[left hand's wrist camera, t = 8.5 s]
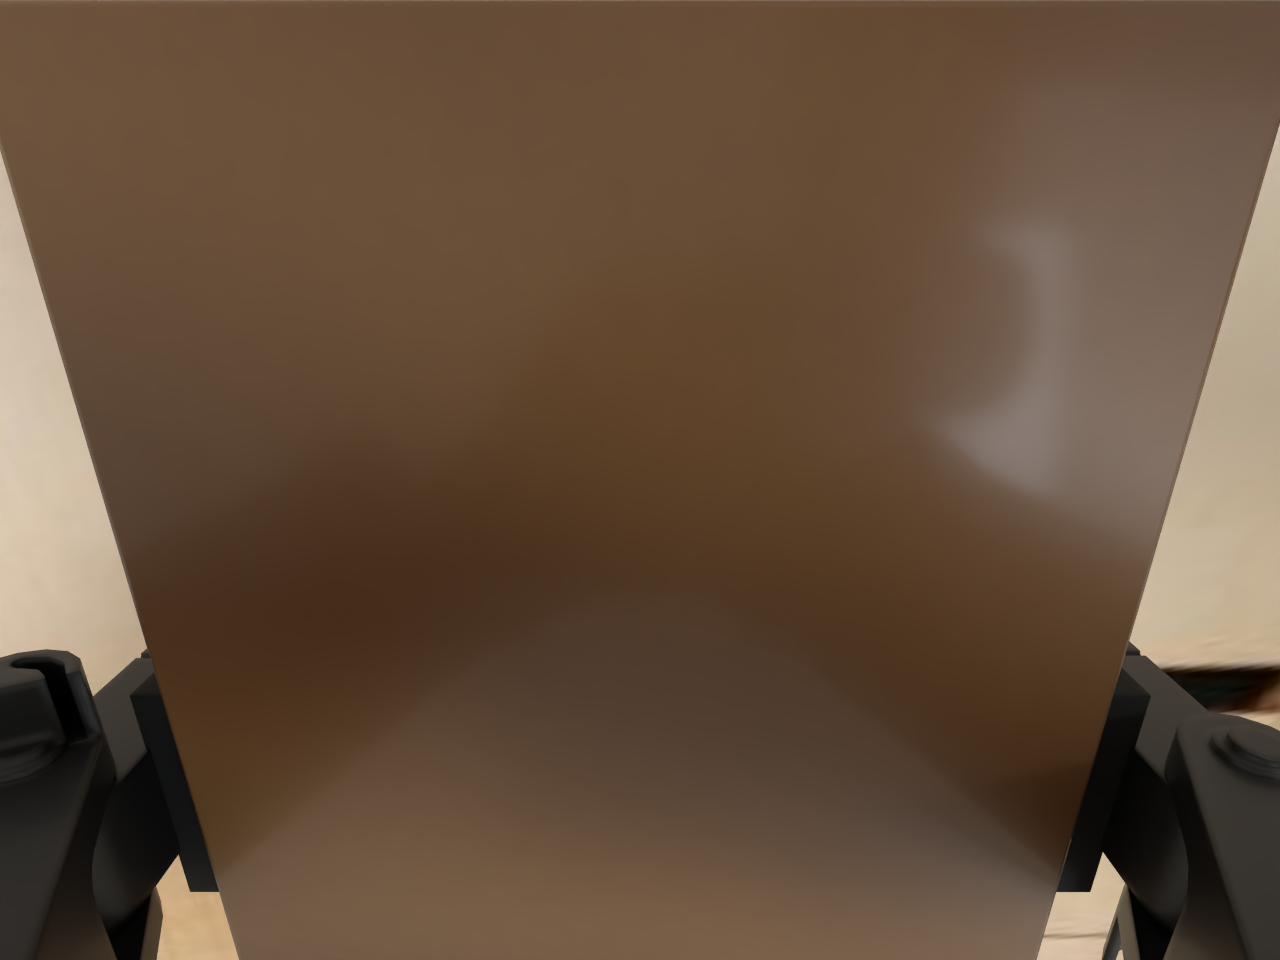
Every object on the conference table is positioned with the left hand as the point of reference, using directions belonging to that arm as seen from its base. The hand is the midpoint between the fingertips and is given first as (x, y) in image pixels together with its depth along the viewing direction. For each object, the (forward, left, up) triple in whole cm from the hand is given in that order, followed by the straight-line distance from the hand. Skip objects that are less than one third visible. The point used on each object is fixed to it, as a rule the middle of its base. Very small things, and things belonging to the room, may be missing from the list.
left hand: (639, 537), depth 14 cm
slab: (+21, +15, -1) cm, 25 cm away
